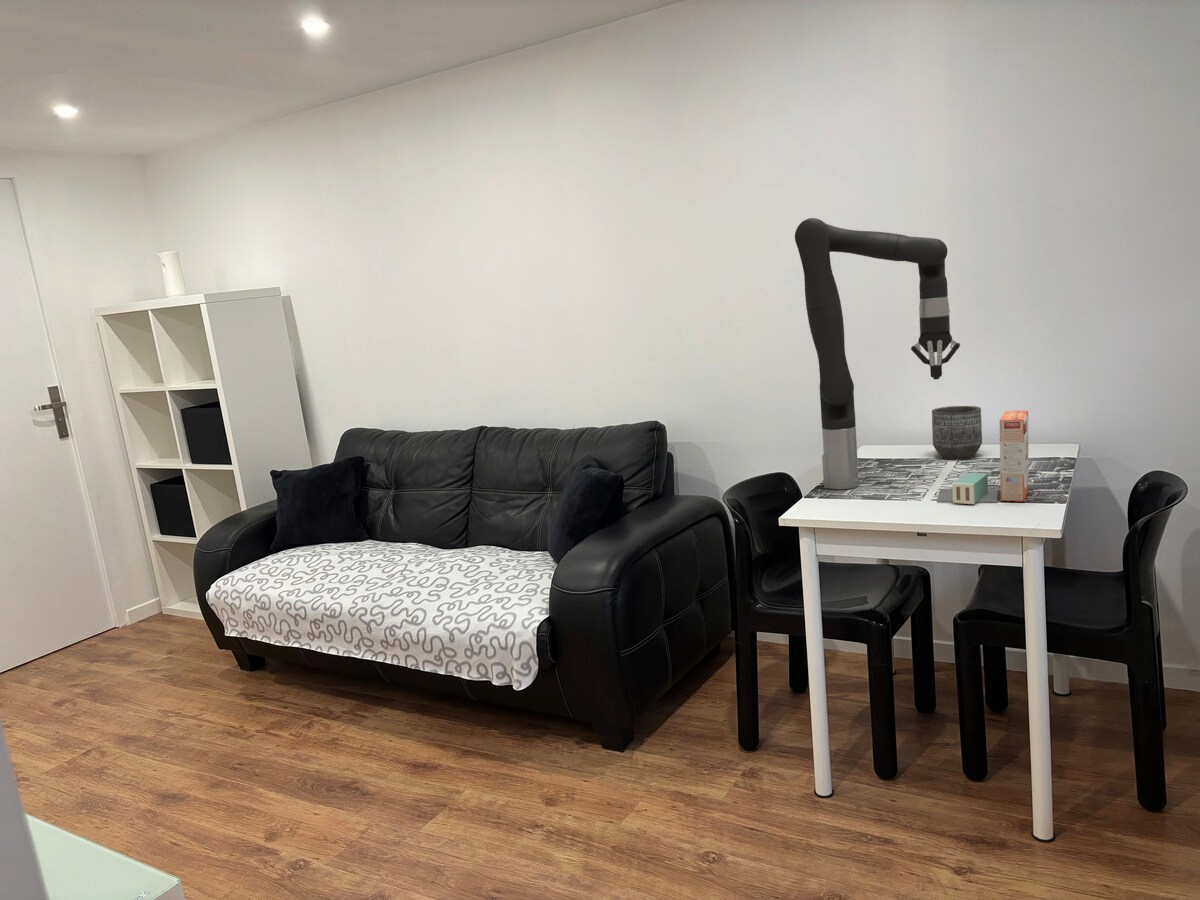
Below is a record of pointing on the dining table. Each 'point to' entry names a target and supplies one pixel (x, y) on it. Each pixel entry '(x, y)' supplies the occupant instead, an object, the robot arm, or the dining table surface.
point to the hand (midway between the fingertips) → (936, 378)
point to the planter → (957, 431)
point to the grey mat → (990, 497)
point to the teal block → (970, 488)
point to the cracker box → (1014, 456)
